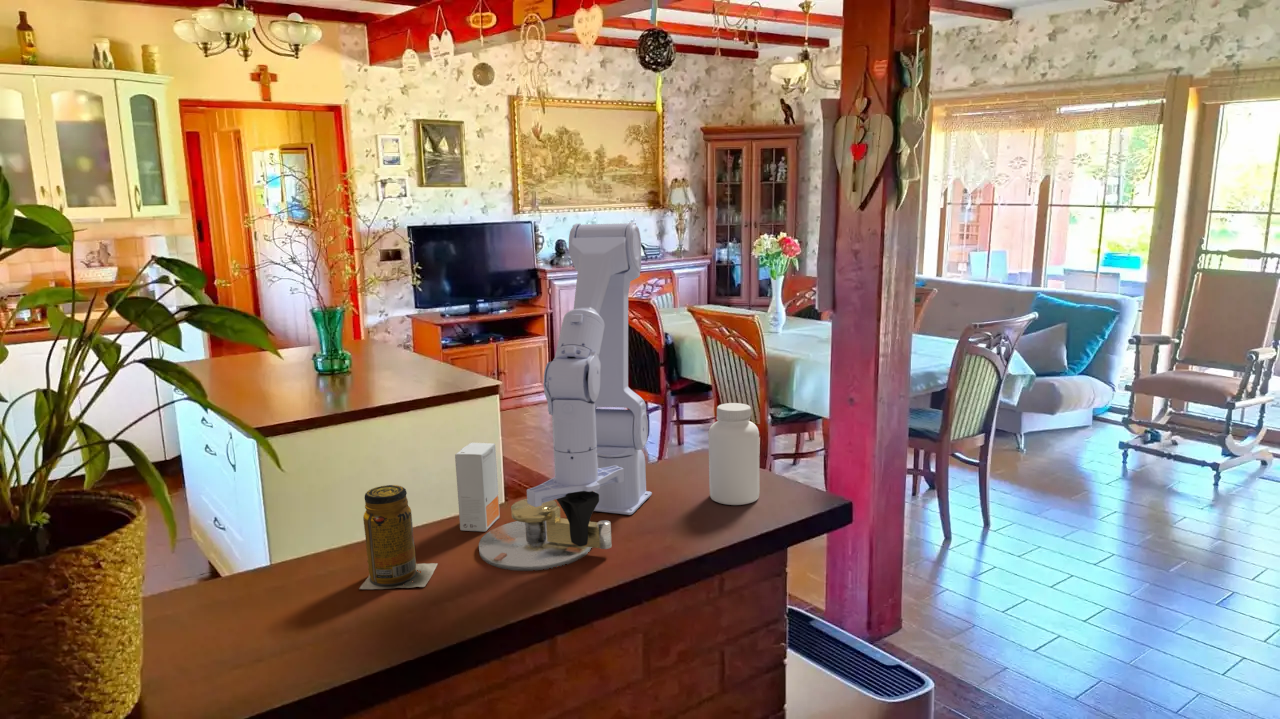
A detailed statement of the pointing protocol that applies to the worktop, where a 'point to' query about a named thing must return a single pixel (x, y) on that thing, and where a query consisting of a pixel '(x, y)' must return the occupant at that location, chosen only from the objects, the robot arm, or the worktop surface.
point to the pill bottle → (733, 456)
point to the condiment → (391, 541)
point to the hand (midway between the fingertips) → (579, 543)
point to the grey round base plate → (526, 548)
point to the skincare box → (477, 486)
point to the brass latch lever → (561, 524)
